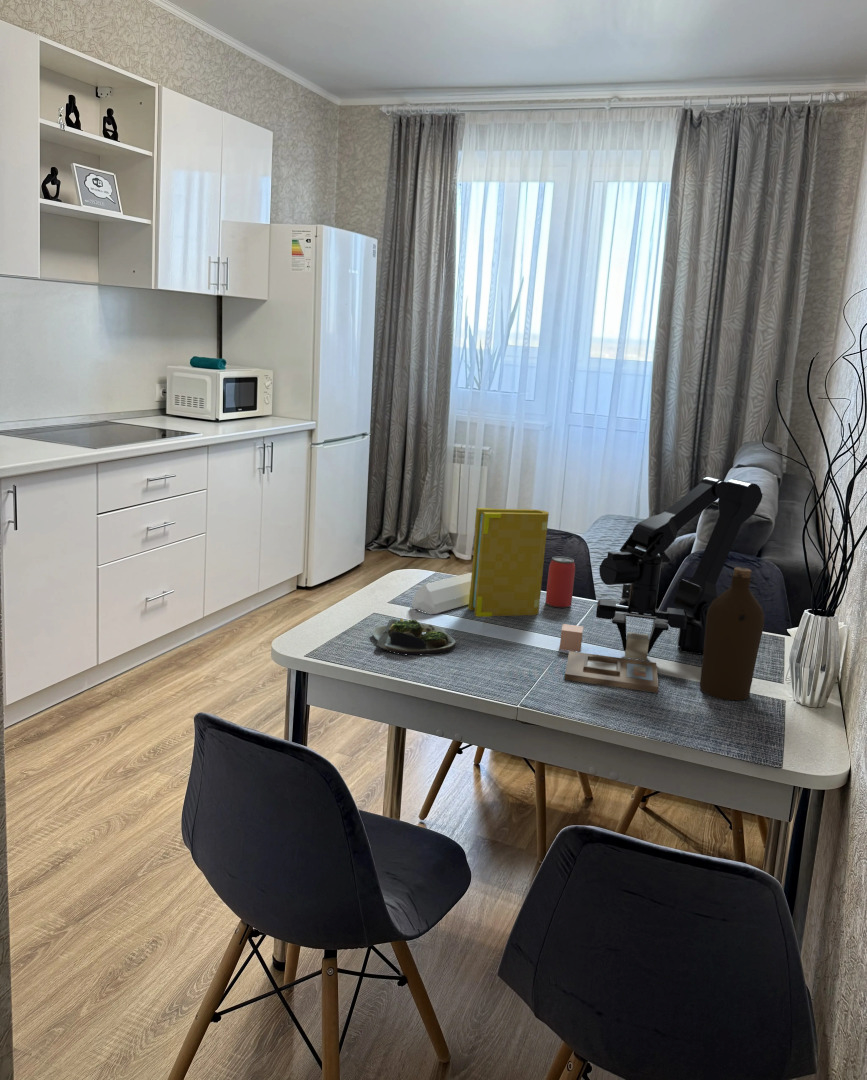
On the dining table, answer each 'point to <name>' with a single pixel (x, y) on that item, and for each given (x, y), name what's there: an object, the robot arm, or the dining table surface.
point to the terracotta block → (571, 637)
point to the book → (508, 561)
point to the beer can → (560, 582)
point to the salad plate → (413, 638)
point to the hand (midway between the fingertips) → (636, 651)
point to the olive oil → (732, 640)
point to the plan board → (612, 671)
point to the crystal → (443, 594)
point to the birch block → (637, 646)
